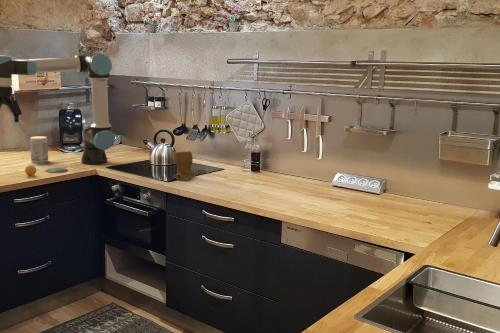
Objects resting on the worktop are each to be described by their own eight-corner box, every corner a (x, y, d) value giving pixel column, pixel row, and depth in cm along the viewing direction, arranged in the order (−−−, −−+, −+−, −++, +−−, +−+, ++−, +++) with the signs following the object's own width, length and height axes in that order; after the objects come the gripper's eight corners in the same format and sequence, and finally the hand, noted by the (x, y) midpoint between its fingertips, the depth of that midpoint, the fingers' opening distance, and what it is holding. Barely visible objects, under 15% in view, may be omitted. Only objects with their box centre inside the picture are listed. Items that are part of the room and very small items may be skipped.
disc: (66, 167, 298) (66, 167, 298) (69, 172, 288) (69, 171, 288) (43, 169, 293) (43, 168, 293) (46, 173, 282) (46, 173, 282)
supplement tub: (45, 159, 318) (44, 135, 315) (50, 162, 311) (49, 137, 308) (28, 161, 312) (27, 136, 309) (33, 163, 305) (32, 138, 302)
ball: (35, 174, 280) (35, 164, 278) (37, 176, 275) (36, 166, 274) (24, 174, 277) (24, 164, 276) (25, 176, 272) (25, 166, 271)
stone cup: (181, 174, 295) (181, 148, 292) (199, 177, 290) (200, 150, 287) (166, 179, 281) (167, 152, 278) (186, 182, 277) (186, 154, 274)
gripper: (-21, 84, 269) (-19, 125, 274) (17, 87, 261) (18, 130, 265) (-9, 84, 276) (-7, 124, 280) (28, 87, 268) (29, 128, 272)
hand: (5, 127), depth 273 cm, fingers open, 13 cm apart
